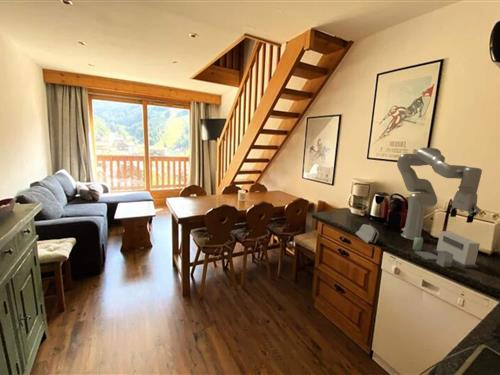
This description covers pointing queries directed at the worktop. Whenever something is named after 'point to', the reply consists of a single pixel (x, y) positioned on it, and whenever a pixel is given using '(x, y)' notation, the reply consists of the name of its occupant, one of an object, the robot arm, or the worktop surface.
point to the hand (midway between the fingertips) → (460, 219)
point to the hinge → (368, 233)
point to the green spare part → (417, 244)
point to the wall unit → (458, 248)
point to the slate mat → (427, 255)
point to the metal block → (444, 258)
